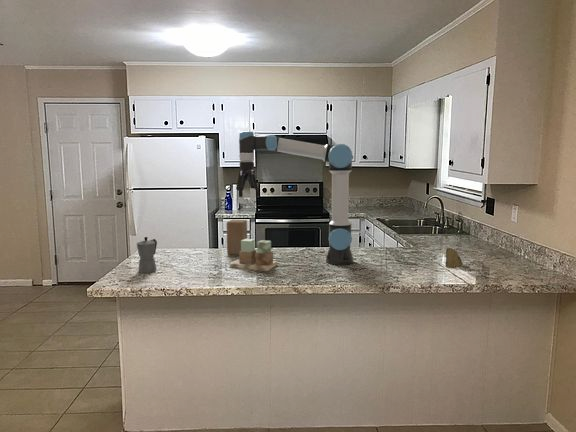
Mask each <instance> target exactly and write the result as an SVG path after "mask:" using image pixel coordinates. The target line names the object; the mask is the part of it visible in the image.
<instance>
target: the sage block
mask: <svg viewBox="0 0 576 432" xmlns="http://www.w3.org/2000/svg"><path fill="white" fill-rule="evenodd" d="M254 250H256V240H255V239H254V238H253V239H252V238H247V239H244V240H241V252H252V251H254Z"/></svg>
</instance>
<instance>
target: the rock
mask: <svg viewBox="0 0 576 432" xmlns="http://www.w3.org/2000/svg"><path fill="white" fill-rule="evenodd" d="M460 266H463V260H462V259H461V257H460V256H459V254H458V251H457V250H455V249H453V248H451V247H450V248H449V247H447V248H446V250H445V265H444V267H445V268H447V269H449V268H451V269H452V268H457V267H460Z"/></svg>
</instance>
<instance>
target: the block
mask: <svg viewBox="0 0 576 432" xmlns="http://www.w3.org/2000/svg"><path fill="white" fill-rule="evenodd" d="M247 223H248V222H247V220H245V219H231V220H229V221H227V222H226V247H227V248H226V253H227V255H230V256H239V252H240V251H241V240H244V239H248V224H247Z"/></svg>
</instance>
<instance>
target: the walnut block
mask: <svg viewBox="0 0 576 432" xmlns="http://www.w3.org/2000/svg"><path fill="white" fill-rule="evenodd" d="M256 253H257V249H255V250H254V251H252V252H241V251H240V252H239V255H238V257H239V258H238V259H239V263H247V264H252V263H254V262H256Z"/></svg>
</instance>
